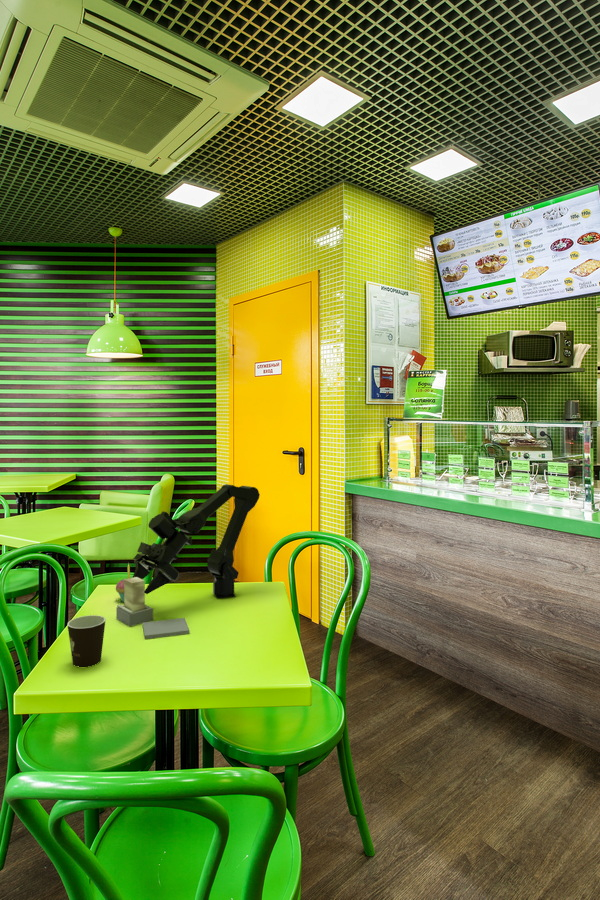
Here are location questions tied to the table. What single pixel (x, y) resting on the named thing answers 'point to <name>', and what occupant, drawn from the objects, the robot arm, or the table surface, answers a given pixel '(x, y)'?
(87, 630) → the coffee mug
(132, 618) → the dispenser sleeve
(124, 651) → the table surface
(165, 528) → the robot arm
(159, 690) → the table surface
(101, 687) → the table surface
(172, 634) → the rubber mat
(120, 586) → the cupcake
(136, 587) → the cream square pillar
